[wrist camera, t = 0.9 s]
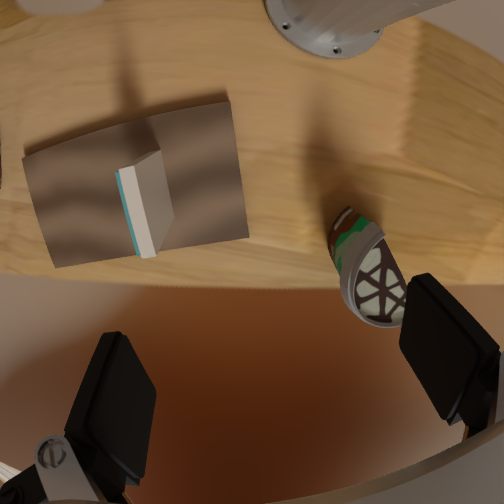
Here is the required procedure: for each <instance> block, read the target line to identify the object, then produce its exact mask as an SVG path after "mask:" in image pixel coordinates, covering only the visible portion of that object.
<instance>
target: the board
mask: <svg viewBox="0 0 504 504" xmlns="http://www.w3.org/2000/svg"><path fill="white" fill-rule="evenodd" d="M157 150H161V153H162V159H163V164H164V169H165V174H166V179H167V184H168V189H169V193H170V198H171V203H172V207H173V212H174V219H173V221H172V223H171V225H170V228H169V230H168V232H167V234H166V236H165V238H164V241H163V243H162V245H161V247H160V249H159V251H164V250H171V249H177V248H183V247H190V246H196V245H203V244H210V243H216V242H223V241H230V240H236V239H243V238H249V232H248V225H247V218H246V211H245V204H244V196H243V189H242V182H241V175H240V168H239V161H238V154H237V147H236V140H235V133H234V126H233V119H232V112H231V104H230V101H227V102H220V103H213V104H207V105H202V106H196V107H191V108H185V109H180V110H175V111H171V112H166V113H161V114H157V115H153V116H149V117H144V118H140V119H136V120H133V121H129V122H125V123H121V124H118V125H114V126H111V127H107V128H104V129H101V130H98V131H94V132H91V133H88V134H85V135H82V136H79V137H76V138H73V139H70V140H67V141H65V142H62V143H59V144H56V145H54V146H51V147H48V148H46V149H43V150H41V151H38V152H36V153H33V154H31V155H29V156H26V157H24V158H22V163H23V167H24V171H25V175H26V180H27V184H28V187H29V191H30V195H31V198H32V202H33V205H34V209H35V212H36V215H37V219H38V222H39V225H40V228H41V231H42V234H43V237H44V240H45V242H46V245H47V248H48V251H49V253H50V256H51V259H52V261H53V264H54V266H55V268H60V267H66V266H72V265H78V264H84V263H90V262H96V261H102V260H108V259H114V258H120V257H126V256H133V255H137V254H136V251H135V247H134V244H133V241H132V237H131V234H130V230H129V227H128V223H127V219H126V216H125V212H124V208H123V204H122V200H121V196H120V192H119V188H118V184H117V179H116V175H115V172H117V171H119V170H118V169H120V168H122V167H123V166H125V165H127V164H129V163H130V162H132V161H134V160H136V159H137V158H139V157H141V156H143V155H145V154H147V153H149V152H152V151H157Z"/></svg>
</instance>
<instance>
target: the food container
mask: <svg viewBox="0 0 504 504" xmlns="http://www.w3.org/2000/svg"><path fill="white" fill-rule="evenodd" d="M385 236H386V234H385V233H384V232H383V231H382V230H381V228H380V227H379V226H378V225H377V224H376V223H375V222H374V221H372V222H370V221H368V220H367V219H366V218H364V217H363V216H362V215H360V214H359V213H358V212H356V211H355V210H353V209H352V208H351V207H349V206H348V207H347V208H346V209H345V210H344V211H342V212H341V213H340V215H339V216H338V217H337V219H336V220H335V222H334V223H333V225H332V228H331V231H330V233H329V238H328V249H329V253H330V256H331V258H332V260H333V263H334V265H335V267H336V269H337V271H338V273H339V275H340V289H341V294H342V297H343V299H344V301H345V303H346V305H347V306H348V307H349V308H350V310H352V312H354V313H355V314H356V315H357V316H358V317H359V318H360V319H362V320H363V321H365V322H367V323H369V324H371V325H373V326H377V327H382V328H392V327H397V326H402V321H403V315H404V308H405V301H406V293H407V285H406V283H405V280H404V278H403V276H402V274H401V272H400V270H399V268H398V266H397V264H396V262H395V260H394V258H393V256H392V254H391V252H390V250H389V248H388V246H387V244H386V242H385V240H384V237H385Z"/></svg>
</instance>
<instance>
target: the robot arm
mask: <svg viewBox="0 0 504 504" xmlns="http://www.w3.org/2000/svg"><path fill="white" fill-rule="evenodd" d="M452 1H455V0H265V5H266V11H267V13H268V16H269V18H270V21H271V22H272V24H273V25H274V27H275V28H276V30H277V31H278V32H279V33H280V34H281V35H282V36H283V37H284V38H285V39H286V40H287V41H289V42H290V43H291V44H292V45H294V46H295V47H297V48H299V49H301V50H303V51H304V52H307V53H310V54H312V55H315V56H319V57H323V58H329V59H343V58H350V57H353V56H356V55H359V54H361V53H364V52H366V51H367V50H369V49H370V48H371V47H373V46H374V45H375V43H376V42H377V41H378V40H379V38H380V36H381V35H382V32H383V28H384V27H386V26H388V25H390V24H393V23H395V22H398V21H400V20H402V19H405V18H408V17H410V16H413V15H415V14H418V13H421V12H423V11H426V10H429V9H432V8H435V7H437V6H441V5H443V4H446V3H449V2H452ZM283 26H286V27H287V29H286V30H285V29H283ZM333 50H336V52H337V53H336V54H335V53H334V51H333ZM399 346H400V349H401V351H402V353H403V354H404V356H405V358H406V360H407V361H408V363H409V364H410V366H411V367H412V369H413V371H414V373H415V374H416V376H417V378H418V379H419V381H420V382H421V384H422V386H423V388H424V389H425V391H426V393H427V394H428V396H429V398H430V400H431V402H432V403H433V405H434V407H435V409H436V410H437V412H438V414H439V416H440V417H441V419H443V420H446V421H447V423H448V424H449V426H451V425H453V424H455V423H457V422H459V421H460V420H463V422H464V423H465V429H464V433H463V438H462V442H461V443H459V444H457V445H455V446H453V447H451V448H448V449H446V450H445V451H442V452H440V453H438V454H436V455H434V456H432V457H430V458H427V459H425V460H423V461H420V462H418V463H416V464H414V465H411V466H408V467H406V468H403V469H401V470H398V471H396V472H393V473H390V474H387V475H385V476H382V477H379V478H376V479H373V480H370V481H366V482H364V483H360V484H357V485H353V486H350V487H346V488H342V489H339V490H335V491H331V492H327V493H322V494H318V495H313V496H309V497H304V498H299V499H293V500H287V501H281V502H274V503H267V504H504V351H503V353H502V354H501V352H500V351H499V348H500V346H499V345H498V344H497V343H496V342H495V341H494V340H493V338H492V337H491V336H490V335H489V334H488V333H487V332H486V330H485V329H484V328H483V327H482V326H481V325H480V324H479V323H478V322H477V321H476V320H475V319H474V317H473V316H472V315H471V314H470V313H469V312H468V311H467V310H466V309H465V308H464V307H463V306H462V305H461V304H460V303H459V302H458V301H457V300H456V299H455V298H454V297H453V296H452V295H451V294H450V293H449V292H448V291H447V290H446V289H445V288H444V287H443V286H442V285H441V284H440V283H439V282H438V281H437V280H436V279H435V278H434V277H433V276H432V275H431V274H429V273H424V274H420V275H416V276H414V277H412V279H411V282H409V283H408V285H407V293H406V301H405V308H404V315H403V321H402V328H401V333H400V339H399ZM155 401H156V389H155V387H154V385H153V383H152V382H151V380H150V378H149V376H148V375H147V373H146V371H145V369H144V367H143V366H142V364H141V362H140V360H139V358H138V356H137V355H136V353H135V351H134V349H133V347H132V345H131V343H130V341H129V339H128V337H127V336H126V335H122V333H121V332H119V331H116V332H107V333H103V335H102V336H101V338H100V340H99V343H98V345H97V347H96V349H95V352H94V354H93V356H92V359H91V361H90V364H89V366H88V368H87V371H86V373H85V375H84V378H83V381H82V383H81V385H80V388H79V391H78V393H77V396H76V398H75V401H74V404H73V406H72V409H71V412H70V414H69V417H68V420H67V423H66V426H65V429H64V431H65V435H64V437H63V436H61V435H58V434H55V435H49V436H47V437H45V438H44V439H42V440H41V441H40V442H39V444H38V445H37V447H36V449H35V452H34V461H35V464H33V465H32V466H31V467H29V468H27V469H26V470H24V471H23V472H21V473H19V474H18V475H16V476H15V477H13V478H12V479H10V480H8V481H7V482H6V483H4V484H3V486H2V487H1V489H0V504H133V503H132V502H131V500H130V499H129V497H128V496H127V495H126V493H125V492H124V490H125V485H136V486H139V483H140V478H143V477H144V474H145V467H146V459H147V452H148V445H149V438H150V431H151V425H152V419H153V413H154V407H155Z"/></svg>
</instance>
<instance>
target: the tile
mask: <svg viewBox="0 0 504 504" xmlns="http://www.w3.org/2000/svg"><path fill="white" fill-rule="evenodd" d="M118 170H119V171H117V172H115V175H116V179H117V184H118V188H119V192H120V196H121V200H122V204H123V208H124V212H125V216H126V219H127V223H128V227H129V230H130V234H131V237H132V241H133V244H134V247H135V251H136V254H137V256H140V255H141V258H142V259H143V258H150V257H156V256H157V254H158V252H159V249H160V247H161V245H162V243H163V241H164V238H165V236H166V234H167V232H168V230H169V228H170V225H171V223H172V221H173V219H174V212H173V207H172V203H171V198H170V193H169V189H168V184H167V179H166V174H165V169H164V164H163V159H162V153H161V150H157V151H152V152H149V153H147V154H145V155H143V156H141V157H139V158H137V159H136V160H134V161H132V162H130V163H129V164H127V165H125V166H123V167H122V168H120V169H118Z"/></svg>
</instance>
